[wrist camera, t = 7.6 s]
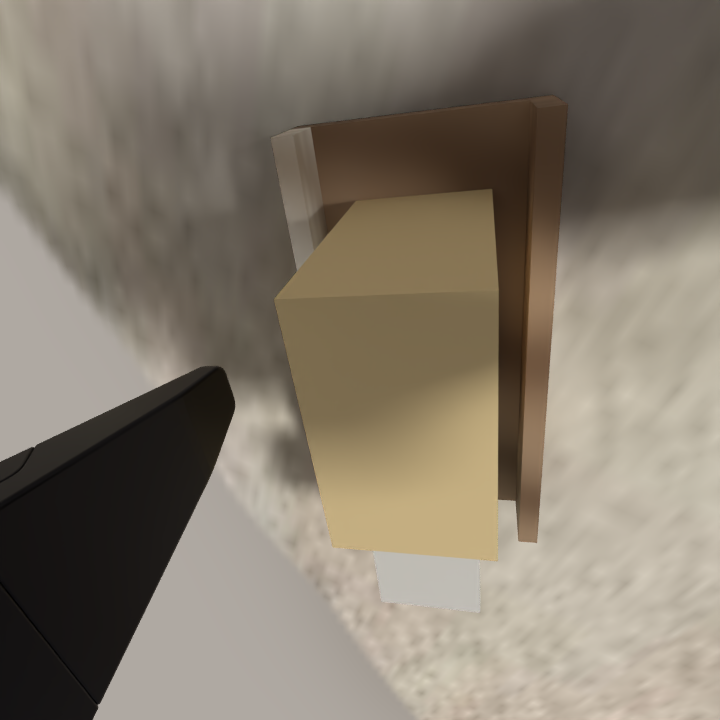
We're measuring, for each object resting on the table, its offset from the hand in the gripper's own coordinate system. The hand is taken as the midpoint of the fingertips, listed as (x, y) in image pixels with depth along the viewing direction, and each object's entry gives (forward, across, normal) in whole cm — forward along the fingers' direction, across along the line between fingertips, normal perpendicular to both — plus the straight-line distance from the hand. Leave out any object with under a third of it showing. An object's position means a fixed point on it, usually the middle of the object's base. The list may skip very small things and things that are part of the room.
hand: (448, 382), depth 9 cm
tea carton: (+11, +2, +3) cm, 12 cm away
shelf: (+12, +2, +6) cm, 14 cm away
